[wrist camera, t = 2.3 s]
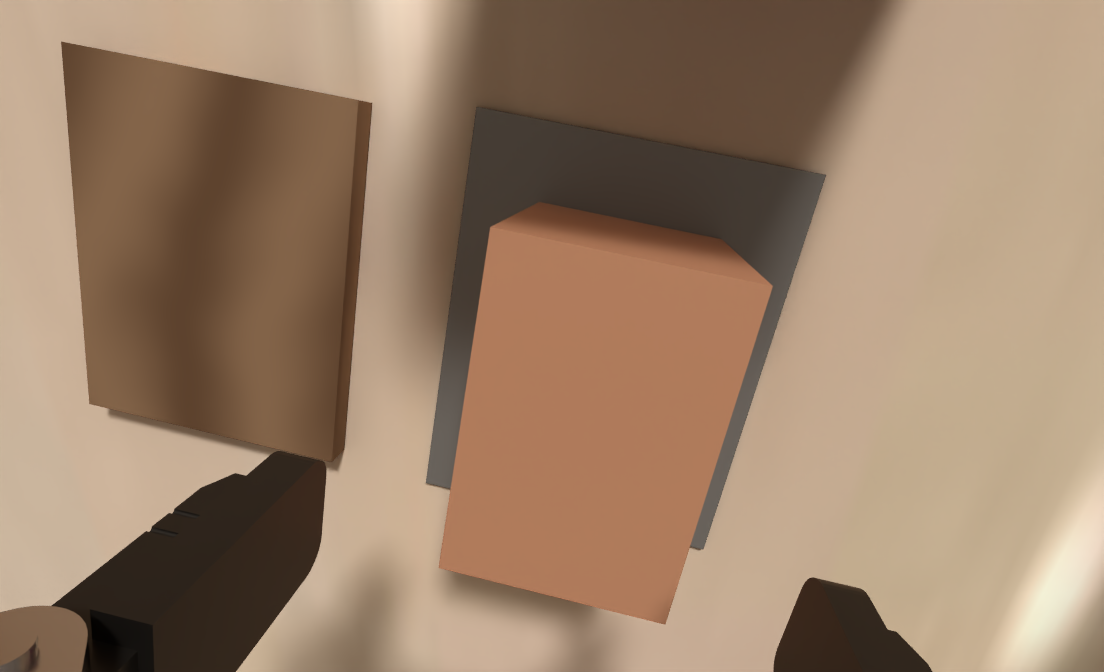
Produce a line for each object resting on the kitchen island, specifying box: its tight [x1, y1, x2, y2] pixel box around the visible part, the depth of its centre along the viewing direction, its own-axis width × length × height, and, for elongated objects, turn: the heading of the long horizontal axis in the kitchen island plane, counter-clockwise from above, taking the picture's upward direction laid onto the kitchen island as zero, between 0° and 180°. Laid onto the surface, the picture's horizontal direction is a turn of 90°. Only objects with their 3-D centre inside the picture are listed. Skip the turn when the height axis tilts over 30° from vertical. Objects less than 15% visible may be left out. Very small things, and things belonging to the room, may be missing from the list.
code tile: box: [426, 107, 826, 549], centre depth 20 cm, size 11×14×1 cm
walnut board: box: [61, 42, 372, 462], centre depth 21 cm, size 10×13×1 cm
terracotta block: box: [439, 202, 773, 624], centre depth 17 cm, size 6×9×7 cm, turn 169°
